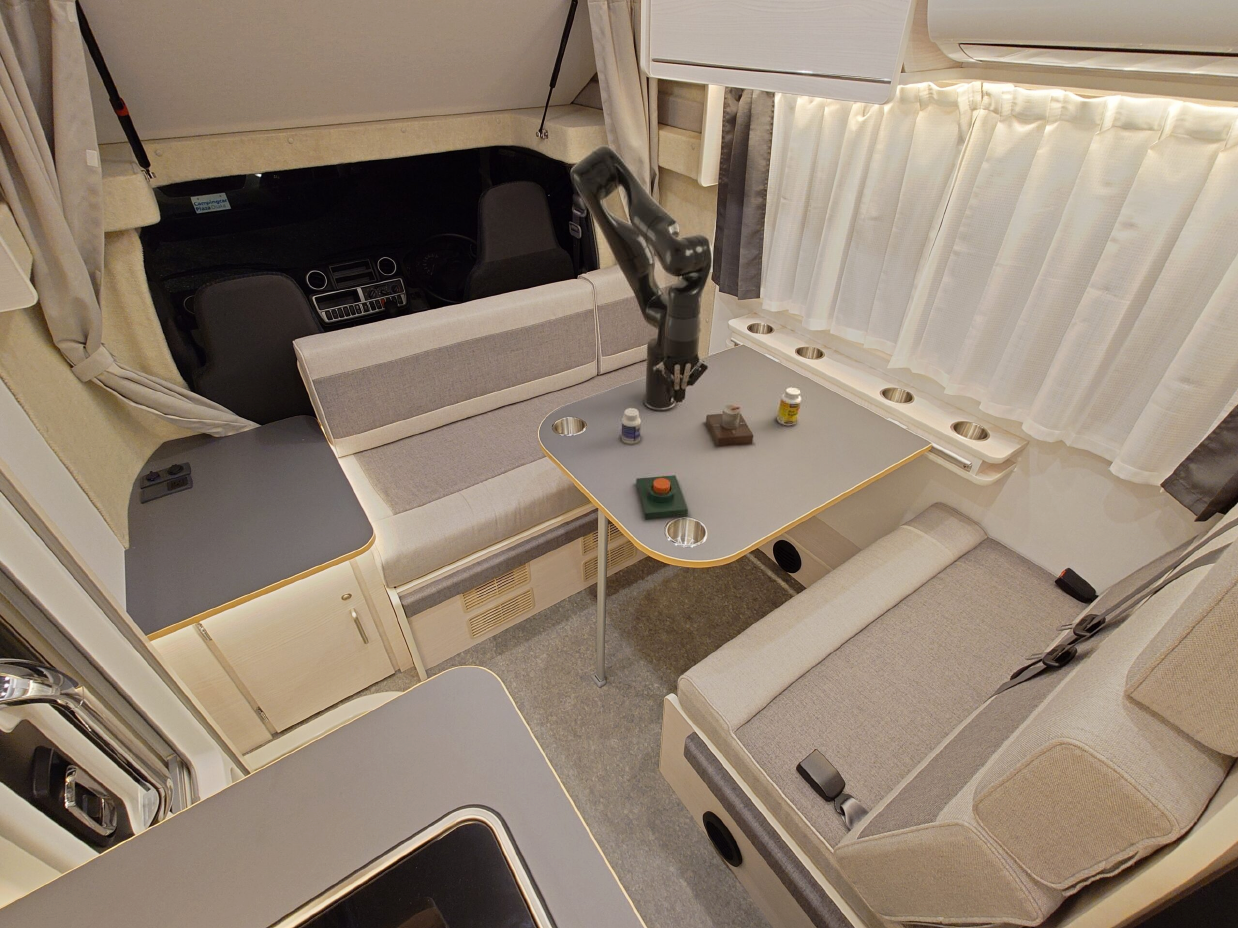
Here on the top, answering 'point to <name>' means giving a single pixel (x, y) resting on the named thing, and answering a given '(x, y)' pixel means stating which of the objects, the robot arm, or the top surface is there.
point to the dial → (730, 416)
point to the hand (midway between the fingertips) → (678, 400)
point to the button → (661, 486)
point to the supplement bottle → (789, 407)
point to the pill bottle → (631, 426)
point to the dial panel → (728, 432)
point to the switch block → (661, 499)
